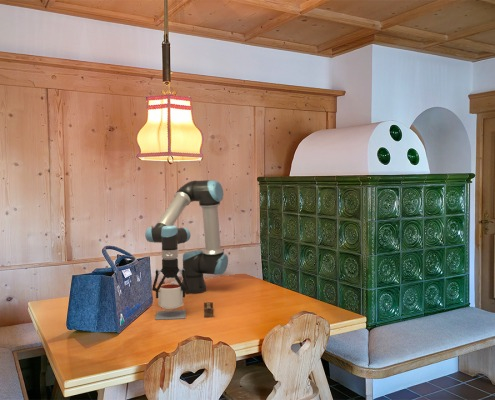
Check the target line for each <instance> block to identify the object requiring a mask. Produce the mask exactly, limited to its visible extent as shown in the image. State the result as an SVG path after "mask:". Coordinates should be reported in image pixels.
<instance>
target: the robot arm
mask: <svg viewBox="0 0 495 400" xmlns="http://www.w3.org/2000/svg"><path fill="white" fill-rule="evenodd" d="M223 199H224V189H223V186H222V184H221V183H220V181H217V180H212V179H211V180H191V181H188V182H187V183H185V184H184V185H183V184H182V186H181V187H180V188H179V189H178V190H177V191H176V192H175V194H174V198H173V199H172V201H171V202H170V204H169V205H168V207H167V208H166V209H165V212H163V214H162V215H161V217H160V218H159V220H158V221H157V222H156V224H155V225H154V227H153V226H150V227H148V228H147V229H146V230H145V234H144V235H145V239H146V241H147V242H149V243H154V244H155V243H157V244H160V243H161V258H162V260H161V269H156V270H155V277H154V280H153V285H152V288H151V290H152V292H153V291H154V292H155V298H156V299H158V306H160V287H161V286H163V283H164V282H165V280H166V279H174V278H175V279H176V281H177V282H178V284H179V285H180V287H181V305H183V304H184V298H185V297H186V294H201V293H205V292H207V284H206V282H205V279H204V274H205V275H223V274H224V273H225V272H226V271H227V268H228V264H229V257H228V255H227V254H226V253H225V252H224V249H223V248H222V247H221V236H220V235H221V233H220V223H219V222H220V220H219V211H218V210H219V209H218V208H219V205H220V204H221V201H222V200H223ZM193 202H199V203H198V204H199V207H200V208H201V209H202V218H203V221H202V222H203V231H204V233H203V234H204V244H205V245H204V246H205V249H204V250H191V251H187V252H184V253H183V254H182V268H179V260H178V256H179V254H178V253H179V252H178V251H179V248H178V245H180V244H184V243H186V242H188V241H189V240H191V231H190V229H188V228H187V227H178V226H176V225H174V224H175V223H176V222H177V220H178V218H179V217H180V216H181V214H182V213H183V211H184V210H185V208H186V207H187V206H189V205H190V204H191V203H193ZM161 273H162V278H161V280H160V281H159V284H158V285H157V282H158V278H159V275H160V274H161ZM178 273H179V274H181V277H182V281H181V279H180V278H179V276H178ZM178 284H177V285H178ZM156 286H157V287H156ZM183 306H184V305H183ZM160 307H161V306H160Z"/></svg>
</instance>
